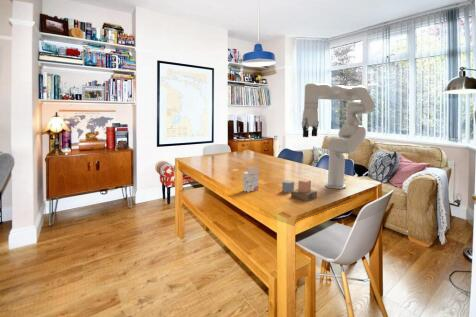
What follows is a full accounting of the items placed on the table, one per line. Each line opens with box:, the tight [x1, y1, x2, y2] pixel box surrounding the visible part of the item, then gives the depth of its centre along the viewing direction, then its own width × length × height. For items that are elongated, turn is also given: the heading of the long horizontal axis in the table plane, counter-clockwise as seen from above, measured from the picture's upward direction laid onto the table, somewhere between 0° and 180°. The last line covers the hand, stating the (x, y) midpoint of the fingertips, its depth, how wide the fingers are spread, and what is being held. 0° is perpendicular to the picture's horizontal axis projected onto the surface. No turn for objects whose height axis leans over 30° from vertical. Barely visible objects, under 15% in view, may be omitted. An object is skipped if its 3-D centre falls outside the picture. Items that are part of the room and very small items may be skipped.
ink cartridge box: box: [242, 166, 259, 193], centre depth 155 cm, size 9×5×15 cm, turn 126°
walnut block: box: [290, 188, 318, 202], centre depth 142 cm, size 10×10×4 cm
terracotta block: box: [297, 178, 312, 193], centre depth 141 cm, size 5×5×6 cm
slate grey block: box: [281, 180, 295, 194], centre depth 153 cm, size 5×5×6 cm
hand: (310, 136), depth 145 cm, fingers open, 9 cm apart
